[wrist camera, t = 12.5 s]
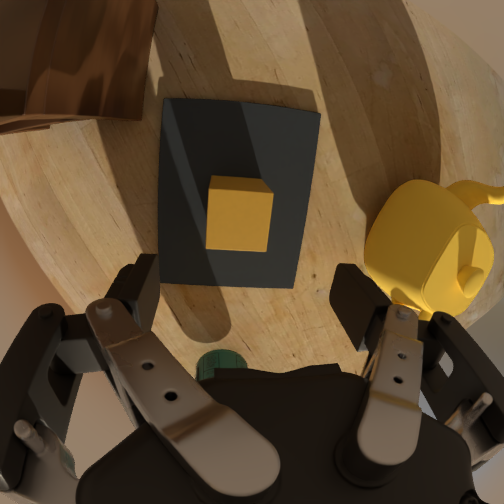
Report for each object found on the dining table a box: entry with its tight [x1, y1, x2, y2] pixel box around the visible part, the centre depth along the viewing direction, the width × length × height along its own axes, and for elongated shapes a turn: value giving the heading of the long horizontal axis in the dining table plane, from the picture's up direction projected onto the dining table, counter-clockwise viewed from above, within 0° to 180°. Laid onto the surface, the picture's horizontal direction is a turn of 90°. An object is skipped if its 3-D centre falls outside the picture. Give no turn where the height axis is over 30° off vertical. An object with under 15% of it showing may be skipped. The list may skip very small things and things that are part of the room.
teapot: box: [364, 180, 504, 321], centre depth 23 cm, size 13×20×12 cm
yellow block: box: [205, 175, 274, 252], centre depth 23 cm, size 4×4×6 cm
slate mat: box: [158, 98, 321, 289], centre depth 26 cm, size 18×14×1 cm
